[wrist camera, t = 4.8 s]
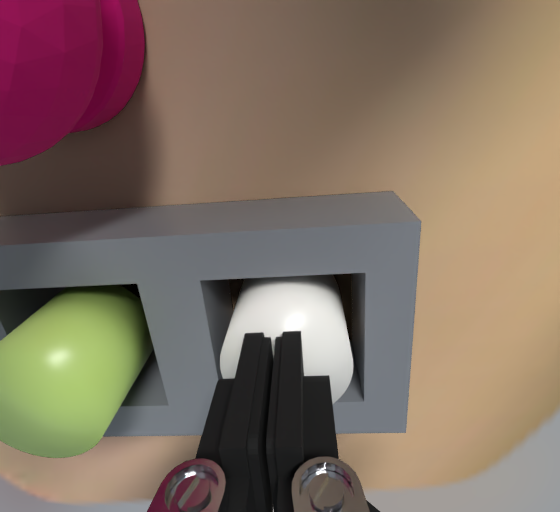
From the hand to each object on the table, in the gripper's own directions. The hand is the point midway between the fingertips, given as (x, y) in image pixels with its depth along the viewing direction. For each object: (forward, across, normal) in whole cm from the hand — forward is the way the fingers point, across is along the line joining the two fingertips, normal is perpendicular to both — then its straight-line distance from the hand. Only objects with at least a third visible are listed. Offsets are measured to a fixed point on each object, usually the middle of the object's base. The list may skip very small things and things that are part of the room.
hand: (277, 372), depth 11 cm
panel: (+5, +7, 0) cm, 8 cm away
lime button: (+3, +7, 0) cm, 7 cm away
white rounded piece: (+4, 0, 0) cm, 4 cm away
